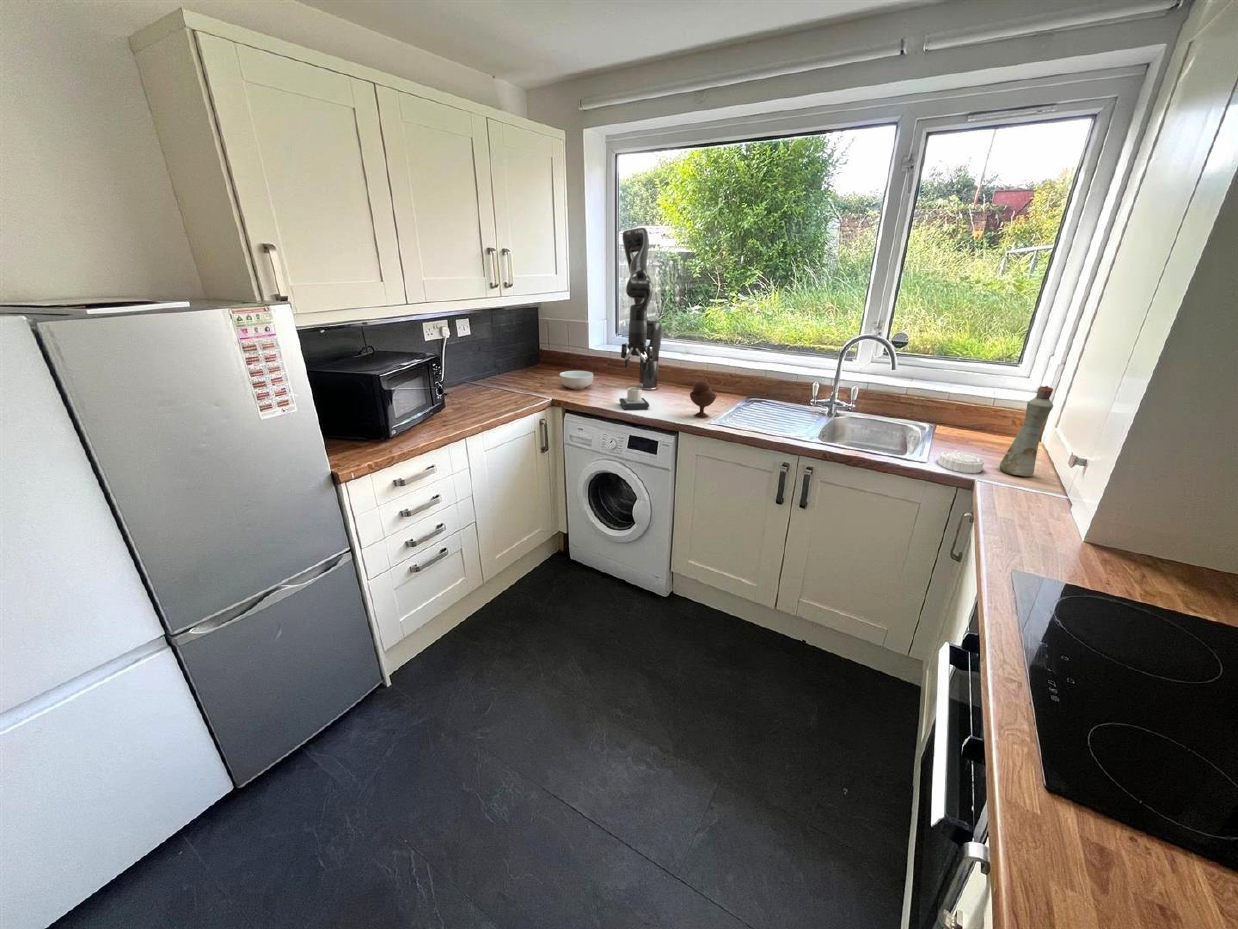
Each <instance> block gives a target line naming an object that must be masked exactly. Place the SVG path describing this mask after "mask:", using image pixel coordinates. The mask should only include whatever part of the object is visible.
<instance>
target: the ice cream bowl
mask: <svg viewBox="0 0 1238 929" xmlns="http://www.w3.org/2000/svg"><path fill="white" fill-rule="evenodd" d="M717 396H718V394H717V393H715V392H714V391H713V390H712V388H711V384H709V383H708V382H707V381H706V380H699V381H697V382H696V383H695V385H694V387H693V389H692V391H690V393H689V398H690V400H691V401H692V403H693V404H694V405H695V406H697V407H699V412H696V413H695V414H694V417H695V418H699V419H707V418H708V417H709V415H708V414H707V413H706V412H705V408H706V407H709V406H711V405H712V404H713V403H714V402H715V401H716V399H717Z"/></svg>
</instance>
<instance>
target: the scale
mask: <svg viewBox="0 0 1238 929" xmlns="http://www.w3.org/2000/svg"><path fill="white" fill-rule="evenodd" d="M623 398H624V397H623ZM623 398H622V397H621V398H620V397H619V403H620V405H621V407H622V408H623V409H624V410H625V411H639V410H640V411H641V410H642V411H643V410H644V411H645V410H648V409H649V408H650V403H649V402H648V401H647V400H646V399H645V398H644V397H641V399H642V400H643V401H644V402H645V404H626V403H625V401H624V400H623Z"/></svg>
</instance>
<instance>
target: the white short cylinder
mask: <svg viewBox="0 0 1238 929" xmlns="http://www.w3.org/2000/svg"><path fill="white" fill-rule="evenodd" d="M642 390H643V389H641V388H639V387H637V386H636V387H635V386H633V387H632V386H631V387H627V390H626V391H627V393H626V398H627V399H628V401H632V402H638V401H640V400H641V398H642V392H643V391H642Z"/></svg>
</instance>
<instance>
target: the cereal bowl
mask: <svg viewBox="0 0 1238 929" xmlns="http://www.w3.org/2000/svg"><path fill="white" fill-rule="evenodd" d="M559 381H560V383H561V384H562V385H563V386H564V387H567V388H568V389H570V390H584V389H585V388H586V387H588V386H591V384H592V383H593V381H594V373H593V372H591V371H587V370H567V371H562V372H560V373H559Z"/></svg>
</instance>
